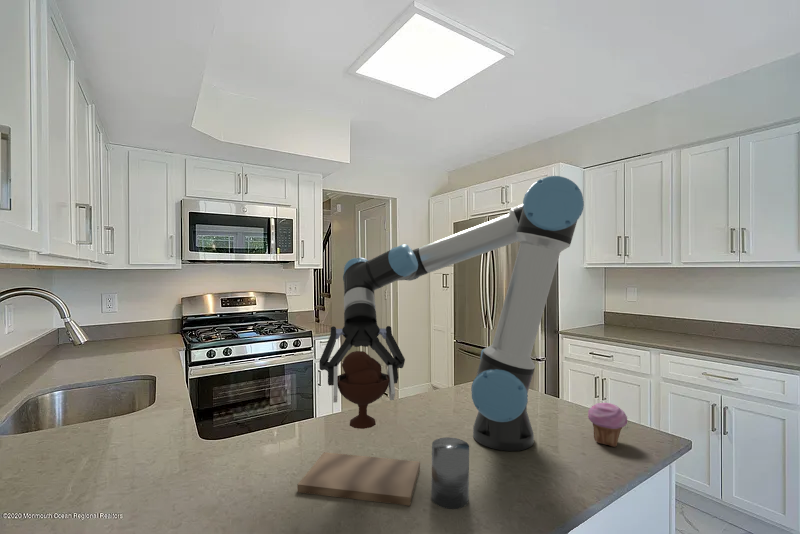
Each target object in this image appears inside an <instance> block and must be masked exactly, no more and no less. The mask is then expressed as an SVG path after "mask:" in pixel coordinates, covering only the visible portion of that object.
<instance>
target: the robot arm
mask: <svg viewBox="0 0 800 534" xmlns="http://www.w3.org/2000/svg"><path fill="white" fill-rule="evenodd" d="M584 203H585V202H584V196H583V193H582V191H581V189H580V187H579V186H578V185H577V184H576V183H575V182H574V181H572V180H571V179H569V178H567V177H565V176H560V175H551V176H550V175H549V176H545V177H542V178H540V179H538V180H536V181H535V182H534V183H532V185H531V186H530V187H529V188H528V189H527V191H526V192H525V193H524V197H523V200H522V203H521V204H519V205H516V206H515V207H511V208H510V209H509V212H508V213H507V214H504V215H501V216H499V217H496V218H494V219H491V220H489V221H486V222H483V223H481V224H478V225H475V226H473V227H469V228H468V229H464V230H461V231H459V232H457V233H456V232H455V233H454V234H451V235H449V236H446V237H444V238H441V239H437V240H436V241H432V242H430V243H428V244H424V245H423V246H420V247H418V248H414V249H412V248H411V247H410V246H409V245H408V244H407V243H406V244H405V243H404V244H403V243H402V244H401V245H398V246H394V247H392V248H391V249H389V250H387V251H385V252H384V253H382V254H380V255H377V256H375V257H373V258H371V259H369V260H368V259H367V258H364V257H353V258H351V259H349V260H348V261H347V262H346V263H345V265H344V268H343V275H342V280H343V293H344V294H343V310H344V312H343V322H344V323H343V327H342V328H336V326H331V327H330V336H329V338H328V340H327V342H326V345H325V347H324V349H323V351H322V353H321V356H320V359H319V364H318V365H319V370H321V371H326V372H327V385H328V387H329V386H330V387H331V386H333V389H332V390H333V394H332V395H333V397H332V398H333V400H332V401H333V403H335V404H336V403H338V391H339V389H338V381H337V380H338V376H339V375H338V369H339V368H338V366H339V364H340V363H341V362H342V360H344V358H345V357H346V356H347V353H348V352H349V351H350V350H351V349H352V348H353V347H354V348H359V347H364V348H366V347H367V348H368V347H370V348H371V350H373V351H374V352H376V354H377V355H378V357H379V358H380V359H381V360H382V362H383V363H384V364H385V365H386V366H387V371H386V374H387V375H388V376H389V379H390V380H389V385H388V393H389V394H388V395H389V401H394V400H395V396H396V388H395V384H398V381H399V372H398V371H399V370H398V369H403V368H404V365H405V363H406V362H405V361H406V358H405V357H404V355H403V353H402V351H401V349H400V347H399V346H398V343H397V341H396V340H395V338H394V336H393V332H392V326H389V325H387V326H386V327H385V328H384V327H383V328H380V327H379V326H378V321H377V310H376V309H377V308H376V299H375V298H376V297H375V291H377V290H379V289H381V288H383V287H385V286H387V285H389V284H392V283H395V282H396V281H408V282H409V281H413V280H417V279H418V278H420V277H422V276H425V275H427V274H429V273H432V272H436V271H439V270H441V269H445V268H447V267H450V266H453V265H455V264H458V263H461V262H464V261H466V260H469V259H472V258H475V257H478V256H482V255H484V254H486V253H489V252H492V251H494V250H498V249H501V248H503V247H506V246H509V245H511V244H514V243H518V242H520V243H519V247H518V251H517V255H516V257H515V258H516V259H515V262H514V265H513V270H512V271H511V274H510V280H509V282H508V287H507V291H506V294H505V297H504V301H503V305H502V308H501V312H500V315H499V319H498V322H497V326H496V329H495V333H494V337H493V341H492V343H491V345H489V346H487V347H485V348H483V349H481V351H480V352H481V353H480V357H479V365H478V369H477V373H476V376H475V378H474V379H473V381H472V383H471V389H470V390H471V400H472V402H473V405H474V407H475V408H476V409H477V411H478V412H477V415H476V416H475V417H476V418H475V420H474V424H473V426H472V427H473V428H472V436H473V439H474V440H475V441H476V442H477V443H479V444H481V445H482V446H485V447H487V448H490V449H493V450H498V451H508V452H517V451H524V450H527V449H529V448H532V447H533V445H534V441H535V440H534V439H535V436H534V430H533V427H532V424H531V420H530V418H529V414H528V411H527V410H528V408H527V406H528V403H529V402H528V400H529V399H528V397H529V396H528V393H529V390H530V386H531V382H532V379H533V375H534V373H535V368H536V364H535V363H534V360H533V359H532V357H531V356H532V353H533V348H534V345H535V342H536V339H537V335H538V331H539V328H540V325H541V321H542V318H543V315H544V311H545V307H546V304H547V300H548V296H549V293H550V289H551V286H552V283H553V279H554V277H555V276H554V275H555V273H556V268H557V265H558V262H559V258H560V255H561V253H562V251H564V250H566V249H567V248H570V247H571V244H572V240H573V236H574V233H575V230H576V227H577V222H578V220H579V219H580V217H581V216H582V214H583V211H584V208H585V207H584V206H585V205H584ZM379 335H380V336H381V337H382V338H383V339H384V340H385V343H386V345H387V347H388V349H389V350H388V349H387V348H386V347H385V346H384V344H383V343H382V342H381V340H380V339H379ZM341 336H343V337H344V338H345V340H344V341H343V343H342V344H341V346H340V347H339V348H338V349H337V351H336V352H335V353H334V354H333V356H332V357H331V355H332V353H333V351H334V347H335V345H336V341H337V340H339V339H340V337H341ZM389 351H390V352H389ZM330 358H331V359H330ZM329 359H330V361H329Z"/></svg>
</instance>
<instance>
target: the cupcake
mask: <svg viewBox="0 0 800 534" xmlns="http://www.w3.org/2000/svg"><path fill="white" fill-rule="evenodd" d="M587 411H588V413H587V417H588V420H589V421H590V422H591V423H592V426H593V438H594V439H593V440H594V441H595V442H596V443H598V444H601V445H607V446H609V447H614V448H615V447H617V445H618V441H619V438H620V434H621V431H622V429H623V428H624V427H625V426H627V424H628V416H627V415H626V413H625V411H624V410H623V409H622V408H621V407H619V406H618V405H616V404H614V403H611V402H598V403H595V404H594V405H591V407H589V408H588V410H587Z"/></svg>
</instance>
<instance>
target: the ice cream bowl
mask: <svg viewBox="0 0 800 534" xmlns="http://www.w3.org/2000/svg"><path fill="white" fill-rule="evenodd" d="M341 367H342V369H343V372H344V373H342V374H339V375H338V380H337V381H338V391H339V393H340V395H342V397H344V398H345V399H346V400H348V401H349V402H350V403H353V404H355V405H357V407H358V415H356V416H354V417H353V418H352V419H350V420H349V427H352V428H354V429H361V430H364V429H371V428H373V427H375V426H376V419H375V418H374V417H372V416H370V415H369V414H368V406H369V405H370V404H372V403H375V402H376V401H378V400H380V399H381V397H382V396H384V394H385V393H386V392H387V390H388V389H389V386H388V385H389V380H390V379H389V376H388V375H387V373H384V372H382V364H381V363H380V362H379V361H377V360H376V359H375V358H373V357H371V355H369V354H368V353H367V352H366V351H361V350H355V351H351V352H350V353H348V354H346V355H345V356H344V358H343V361H342V364H341Z"/></svg>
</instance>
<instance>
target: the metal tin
mask: <svg viewBox="0 0 800 534" xmlns="http://www.w3.org/2000/svg"><path fill="white" fill-rule="evenodd" d="M469 480H470V445H469V443H468V442H466V441H465V440H463V439H460V438H456V437H450V436H449V437H447V436H446V437H440V438H436V439H434V440H433V441H432V443H431V486H430V487H431V491H430V493H431V494H430V495H431V501H432V502H433V504H435V505H436V506H439V507H440V508H443V509H449V510H456V509H457V510H458V509H463V508H464V507H466V506H468V504H469V499H470V498H469V497H470V496H469V495H470V493H469V491H470V490H469V485H470V481H469Z"/></svg>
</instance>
